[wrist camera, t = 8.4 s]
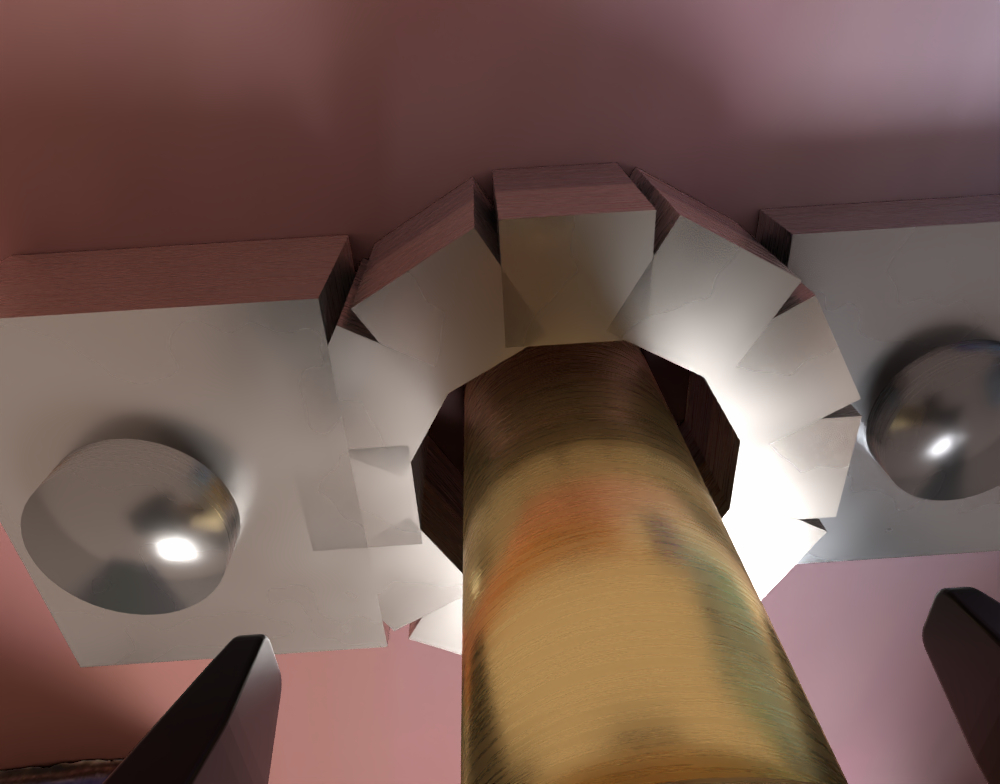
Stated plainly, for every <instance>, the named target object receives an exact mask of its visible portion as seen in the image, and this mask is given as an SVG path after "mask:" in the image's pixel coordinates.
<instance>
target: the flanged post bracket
mask: <svg viewBox="0 0 1000 784" xmlns="http://www.w3.org/2000/svg"><path fill="white" fill-rule="evenodd" d="M492 174H493V192H494V208H493V206H492V205H491V203H490V202H489V200H488V199H487V197H486V196H485V194H484V193H483V191H482V190H481V188H480V187H479V185H478V183H477V182H476V180H475V179H474V177H472V178H470V179H469V180H467V181H466V182H464V183H463V184H462V185H460V186H459V187H457V188H456V189H454V190H453V191H451V192H450V193H448V194H447V195H445V196H444V197H442V198H441V199H439V200H438V201H436V202H435V203H434V204H432V205H431V206H429V207H428V208H426V209H425V210H423V211H422V212H420V213H419V214H417V215H416V216H414V217H413V218H411V219H410V220H408V221H407V222H406V223H404V224H403V225H401V226H400V227H398V228H397V229H395V230H394V231H392V232H391V233H389V234H388V235H386V236H385V237H383V238H382V239H380V240H379V241H377V242H376V243H375V244H374V247H373V249H372V252H371V255H370V257H369V260H368V259H365V258H363V259H362V261H361V263H360V266H359V268H358V270H357V273H356V275H355V269H354V263H353V257H352V251H351V245H350V239H349V235H337V236H321V237H305V238H289V239H272V240H256V241H240V242H224V243H208V244H192V245H175V246H159V247H143V248H127V249H111V250H95V251H78V252H62V253H46V254H30V255H14V256H9V257H7V258H6V259H4V260H2V261H0V522H1V524H2V526H3V527H4V529H5V531H6V533H7V535H8V536H9V538H10V540H11V542H12V544H13V545H14V547H15V549H16V551H17V553H18V555H19V556H20V558H21V560H22V562H23V564H24V565H25V567H26V569H27V571H28V573H29V575H30V576H31V578H32V580H33V582H34V584H35V585H36V587H37V589H38V591H39V593H40V594H41V596H42V598H43V600H44V602H45V604H46V605H47V607H48V609H49V611H50V613H51V614H52V616H53V618H54V620H55V622H56V623H57V625H58V627H59V629H60V631H61V633H62V634H63V636H64V638H65V640H66V642H67V643H68V645H69V647H70V649H71V651H72V652H73V654H74V656H75V658H76V660H77V662H78V663H79V665H80V667H93V666H108V665H123V664H138V663H153V662H168V661H183V660H198V659H213V658H215V657H216V656H217V655H218V654H219V653H220V652H221V651H222V649H223V648H224V647H225V646H226V645H227V644H228V643H229V642H230V641H231V640H232V639H233V638H235V637H237V636H240V635H253V634H265V635H266V636H267V637H268V638H269V640H270V642H271V645H272V648H273V652H274V654H287V653H302V652H317V651H332V650H347V649H362V648H377V647H388V640H389V632H390V628H391V629H393V630H394V631H395V630H398V629H400V628H402V627H404V626H406V625H408V624H410V629H409V639H411V640H414V641H417V642H421V643H424V644H427V645H430V646H434V647H437V648H440V649H444V650H447V651H450V652H454V653H457V654H460V655H462V606H463V494H464V476H463V475H462V474H461V473H460V472H459V470H458V469H457V468H456V467H455V466H454V465H453V463H452V462H451V461H450V460H449V459H448V458H447V457H446V455H445V454H444V453H443V452H442V451H441V450H440V448H439V447H438V446H437V445H436V444H435V443H434V441H433V440H432V439H431V438H430V437H429V434H428V430H429V428H430V426H431V424H432V422H433V421H434V419H435V417H436V415H437V413H438V411H439V409H440V408H441V406H442V404H443V402H444V400H445V398H446V397H447V395H448V393H450V392H452V391H453V390H455V389H457V388H458V387H460V386H462V385H463V384H465V383H467V382H469V381H470V380H472V379H474V378H475V377H477V376H479V375H480V374H482V373H484V372H485V371H487V370H489V369H491V368H492V367H494V366H496V365H497V364H499V363H501V362H502V361H504V360H506V359H508V358H509V357H511V356H513V355H514V354H516V353H518V352H519V351H521V350H523V349H524V348H526V347H528V346H542V345H557V344H573V343H589V342H605V341H621V340H626V341H628V342H630V343H632V344H634V345H636V346H639V347H641V348H643V349H645V350H647V351H649V352H651V353H654V354H656V355H658V356H660V357H662V358H664V359H666V360H668V361H671V362H673V363H675V364H677V365H679V366H681V367H683V368H686V369H688V370H690V374H689V384H688V393H687V403H686V413H685V420H684V421H683V422H682V424H681V425H680V426H679V431H680V433H681V435H682V437H683V439H684V441H685V443H686V445H687V447H688V449H689V451H690V454H691V456H692V458H693V460H694V462H695V464H696V466H697V468H698V470H699V472H700V475H701V477H702V479H703V481H704V483H705V485H706V487H707V489H708V491H709V493H710V495H711V498H712V500H713V502H714V504H715V506H716V508H717V510H718V512H719V514H720V516H721V519H722V521H723V523H724V525H725V527H726V529H727V531H728V533H729V535H730V537H731V539H732V542H733V544H734V546H735V548H736V550H737V552H738V554H739V556H740V558H741V560H742V563H743V565H744V567H745V569H746V571H747V573H748V575H749V577H750V579H751V581H752V583H753V586H754V588H755V590H756V592H757V594H758V596H759V598H760V600H762V599H763V598H764V597H765V596H766V595H767V593H768V592H769V591H770V590H771V589H772V588H773V587H774V586H775V585H776V584H777V583H778V582H779V581H780V580H781V579H782V578H783V577H784V576H785V575H786V574H787V573H788V572H789V571H790V570H791V569H792V568H793V567H794V565H795V564H806V563H821V562H836V561H852V560H867V559H882V558H897V557H912V556H927V555H942V554H957V553H972V552H987V551H1000V195H984V196H968V197H952V198H935V199H919V200H903V201H887V202H871V203H855V204H838V205H822V206H806V207H790V208H774V209H760V213H759V220H758V227H757V234H756V240H755V239H754V238H753V237H752V236H751V235H750V234H749V233H747V232H746V231H745V230H744V229H743V228H742V227H741V226H740V225H738V224H737V223H736V222H735V221H733V220H732V219H730V218H728V217H726V216H724V215H723V214H721V213H719V212H717V211H715V210H713V209H712V208H710V207H708V206H706V205H704V204H702V203H701V202H699V201H697V200H695V199H693V198H692V197H690V196H688V195H686V194H684V193H682V192H681V191H679V190H677V189H675V188H673V187H672V186H670V185H668V184H666V183H664V182H662V181H661V180H659V179H657V178H655V177H653V176H652V175H650V174H648V173H646V172H644V171H642V170H641V169H639V168H637V167H635V169H634V170H633V172H632V174H631V175H630V177H628V176H627V175H626V173H625V172H624V171H623V170H622V169H621V168H620V166H619V165H618V164H617V163H601V164H585V165H568V166H552V167H536V168H519V169H503V170H492Z"/></svg>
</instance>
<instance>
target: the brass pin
mask: <svg viewBox="0 0 1000 784" xmlns="http://www.w3.org/2000/svg"><path fill="white" fill-rule="evenodd" d="M461 784H848V783H847V780H846V778H845V776H844V774H843V772H842V770H841V768H840V766H839V764H838V762H837V759H836V757H835V755H834V753H833V751H832V749H831V747H830V745H829V743H828V741H827V739H826V736H825V734H824V732H823V730H822V728H821V726H820V724H819V722H818V720H817V718H816V715H815V713H814V711H813V709H812V707H811V705H810V703H809V701H808V699H807V697H806V695H805V692H804V690H803V688H802V686H801V684H800V682H799V680H798V678H797V676H796V674H795V671H794V669H793V667H792V665H791V663H790V661H789V659H788V657H787V655H786V653H785V651H784V648H783V646H782V644H781V642H780V640H779V638H778V636H777V634H776V632H775V630H774V627H773V625H772V623H771V621H770V619H769V617H768V615H767V613H766V611H765V609H764V607H763V604H762V602H761V600H760V598H759V596H758V594H757V592H756V590H755V588H754V586H753V583H752V581H751V579H750V577H749V575H748V573H747V571H746V569H745V567H744V565H743V563H742V560H741V558H740V556H739V554H738V552H737V550H736V548H735V546H734V544H733V542H732V539H731V537H730V535H729V533H728V531H727V529H726V527H725V525H724V523H723V521H722V519H721V516H720V514H719V512H718V510H717V508H716V506H715V504H714V502H713V500H712V498H711V495H710V493H709V491H708V489H707V487H706V485H705V483H704V481H703V479H702V477H701V475H700V472H699V470H698V468H697V466H696V464H695V462H694V460H693V458H692V456H691V454H690V451H689V449H688V447H687V445H686V443H685V441H684V439H683V437H682V435H681V433H680V431H679V428H678V426H677V424H676V422H675V420H674V418H673V416H672V414H671V412H670V410H669V407H668V405H667V403H666V401H665V399H664V397H663V395H662V393H661V391H660V389H659V387H658V384H657V382H656V380H655V378H654V376H653V374H652V372H651V370H650V368H649V366H648V363H647V361H646V359H645V357H644V355H643V354H642V352H641V350H640V349H639V348H638V346H636V345H634V344H632V343H630V342H628V341H626V340H621V341H605V342H589V343H573V344H557V345H542V346H528V347H526V348H524V349H523V350H521V351H519V352H518V353H516V354H514V355H513V356H511V357H509V358H508V359H506V360H504V361H502V362H501V363H499V364H497V365H496V366H494V367H492V368H491V369H489V370H487V371H485V372H484V373H482V374H480V375H479V376H477V377H475V378H474V379H472V380H470V381H469V382H467V383H466V387H465V394H464V494H463V606H462V718H461Z"/></svg>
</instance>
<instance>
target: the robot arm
mask: <svg viewBox="0 0 1000 784" xmlns="http://www.w3.org/2000/svg"><path fill="white" fill-rule="evenodd" d="M922 637H923V643H924V647H925V649H926V652H927V654H928V656H929V658H930V661H931V663H932V665H933V667H934V670H935V672H936V674H937V676H938V679H939V681H940V683H941V685H942V688H943V690H944V692H945V694H946V697H947V699H948V701H949V703H950V706H951V708H952V710H953V712H954V715H955V717H956V719H957V721H958V724H959V726H960V728H961V730H962V733H963V735H964V737H965V739H966V742H967V744H968V746H969V748H970V750H971V752H972V754H973V756H974V758H975V760H976V762H977V764H978V766H979V768H980V770H981V771H982V773H983V775H984V777H985V779H986V781H987V782H988V784H1000V603H999V602H998V601H996V600H994V599H993V598H991V597H989V596H988V595H986V594H985V593H983V592H981V591H979V590H977V589H975V588H971V587H957V588H944V589H941V590H940V591H939V592H938V593H937V594H936V596H935V598H934V601H933V603H932V606H931V608H930V611H929V614H928V616H927V619H926V621H925V624H924V627H923V632H922ZM280 696H281V673H280V670H279V667H278V664H277V661H276V658H275V655H274V652H273V648H272V645H271V642H270V640H269V638H268V637H267V636H266V635H265V634H253V635H240V636H237V637H235V638H233V639H232V640H231V641H230V642H229V643H228V644H227V645H226V646H225V647H224V648H223V649H222V651H221V652H220V653H219V654H218V655H217V656H216V657H215V658H214V659H213V661H212V662H211V663H210V664H209V665H208V666H207V667H206V668H205V670H204V671H203V672H202V673H201V674H200V675H199V676H198V677H197V678H196V680H195V681H194V682H193V683H192V684H191V685H190V686H189V687H188V688H187V690H186V691H185V692H184V693H183V694H182V695H181V696H180V697H179V699H178V700H177V701H176V702H175V703H174V704H173V705H172V706H171V707H170V709H169V710H168V711H167V712H166V713H165V714H164V715H163V716H162V717H161V719H160V720H159V721H158V722H157V723H156V724H155V725H154V726H153V728H152V729H151V730H150V731H149V732H148V733H147V734H146V735H145V736H144V738H143V739H142V740H141V741H140V742H139V743H138V744H137V745H136V746H135V748H134V749H133V750H132V751H131V752H130V753H129V754H128V755H127V757H126V758H125V759H124V760H123V761H122V762H121V763H120V764H119V765H118V767H117V768H116V769H115V770H114V771H113V772H112V773H111V774H110V775H109V777H108V778H107V779H106V780H105V781H104V782H103V783H102V784H268V780H269V773H270V766H271V759H272V752H273V745H274V738H275V731H276V724H277V717H278V710H279V703H280Z"/></svg>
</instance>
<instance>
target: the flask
mask: <svg viewBox="0 0 1000 784" xmlns="http://www.w3.org/2000/svg"><path fill="white" fill-rule="evenodd" d="M122 761H123V760H113V761H112V762H111V761H110V760H108V761H103V760H98V759H97V760H95V761H92V760H88V761H86V760H82V761H80V762H76V763H71V764H68V763H61V764H56V765H54V766H52V767H50V768H47V767H46V768H43V769H42V767H40V768H39V767H28V768H21V769H14V770H8V771H6V770H3V771H2V770H1V771H0V784H102V783H103V782H104V781H105V780H106V779H107V778H108V777H109V775H110V774H111V773H112V772H113V771H114V770H115V769H116V768H117V767H118V765H119V764H120V763H121V762H122Z"/></svg>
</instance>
